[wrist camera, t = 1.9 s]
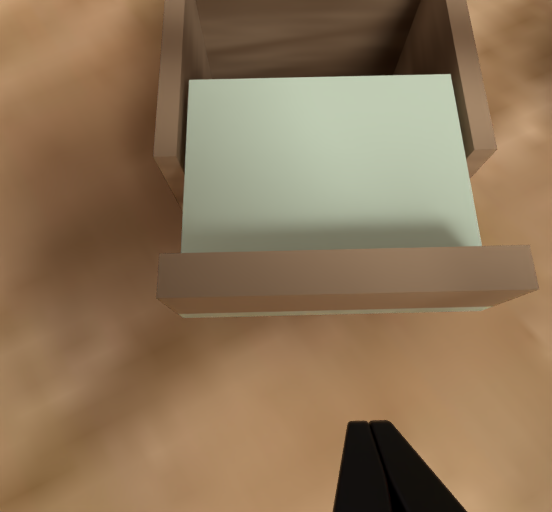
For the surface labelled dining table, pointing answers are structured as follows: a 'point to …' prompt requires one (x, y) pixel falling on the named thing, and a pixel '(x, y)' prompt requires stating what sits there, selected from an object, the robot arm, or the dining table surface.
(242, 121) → the lid
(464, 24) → the walnut box
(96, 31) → the dining table surface
